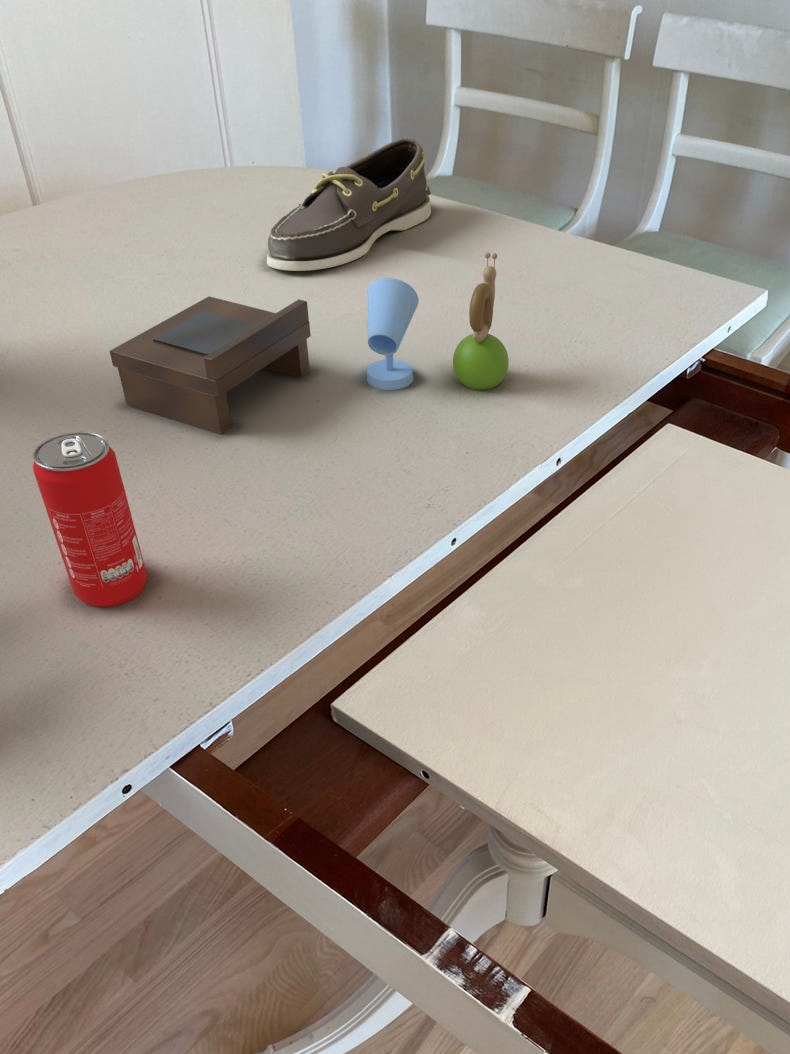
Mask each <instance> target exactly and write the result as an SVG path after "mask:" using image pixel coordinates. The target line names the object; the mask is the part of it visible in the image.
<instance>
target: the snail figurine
mask: <svg viewBox="0 0 790 1054" xmlns="http://www.w3.org/2000/svg"><path fill="white" fill-rule="evenodd" d="M484 257H485V259H486V267H485V268H484V269H483V271H482V278H483V282H481V283H479V284H477V285H476V286H475V288H474V290H473V292H472V295H471V298H470V301H469V309H468V311H469V312H468V315H469V316H468V317H469V318H468V319H469V326H470V328H471V330H472V331H473V333H471V334H469V335H466V336H465V337H463V339H461V340H460V342H459V343H458V344H457V345H456V347H455V349H454V352H453V354H452V355H453V356H452V368H453V371H454V374H455V376H456V378H457V380H458V381H459V382H460V383H461V384H462V385H463V386H465V387H466V388H468V389H471V390H475V391H485V390H486V391H487V390H491V389H494V388H495V387H497V386H498V385H499V384H500V383H502V381H503V380H504V379H505V377H506V375H507V373H508V370H509V362H510V360H509V354H508V351H507V348H506V346H505V345H504V344H503V342H502V341H501V340H500V339H499V338H498V337H497V336H494V335H493V334H492V333H491V334H490V333H489V332H490V329H491V328H492V323H493V318H494V306H495V305H494V304H495V299H496V298H495V297H496V278H497V270H496V267H495V266H496V259H497V258H498V254H497V253H496V252H493V253H490V252H489V251H486V252H485V253H484ZM490 258H492V260H493V265H489V259H490Z"/></svg>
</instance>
